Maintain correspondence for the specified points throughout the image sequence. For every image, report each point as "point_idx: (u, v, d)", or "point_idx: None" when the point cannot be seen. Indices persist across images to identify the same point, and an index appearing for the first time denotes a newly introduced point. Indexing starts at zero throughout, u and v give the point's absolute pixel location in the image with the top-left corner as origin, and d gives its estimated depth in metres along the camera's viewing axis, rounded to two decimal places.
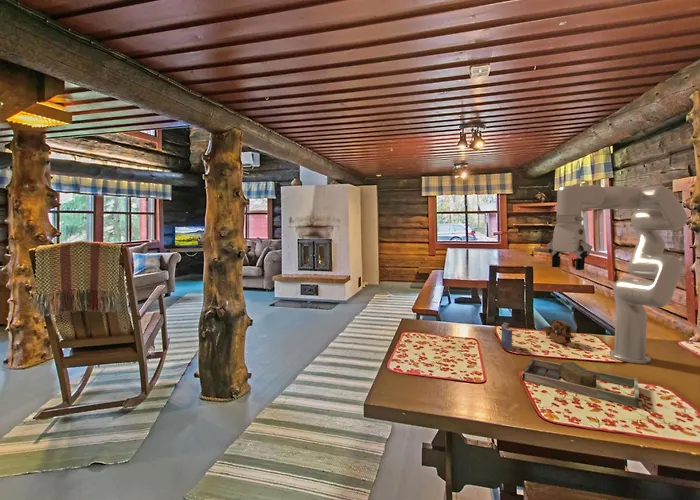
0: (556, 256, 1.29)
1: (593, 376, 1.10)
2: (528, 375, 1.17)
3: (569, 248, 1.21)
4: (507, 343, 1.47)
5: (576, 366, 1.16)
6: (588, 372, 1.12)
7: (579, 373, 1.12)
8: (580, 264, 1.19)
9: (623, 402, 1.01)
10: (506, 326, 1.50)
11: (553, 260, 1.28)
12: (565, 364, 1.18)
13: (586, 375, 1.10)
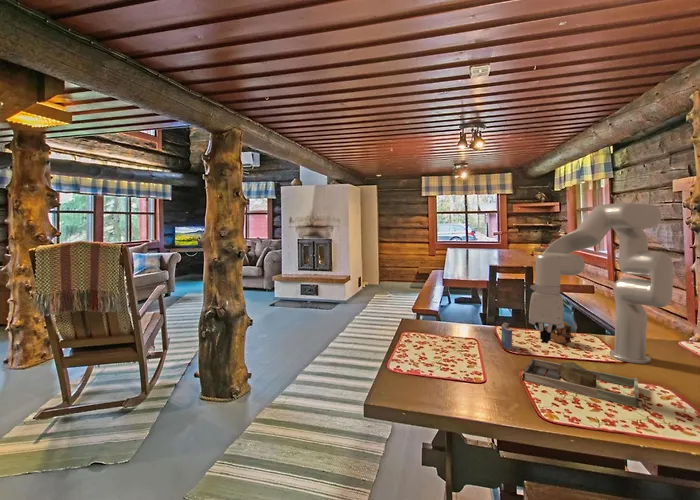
0: None
1: (593, 376, 1.10)
2: (528, 375, 1.17)
3: None
4: (507, 343, 1.47)
5: (576, 366, 1.16)
6: (588, 372, 1.12)
7: (579, 373, 1.12)
8: None
9: (623, 402, 1.01)
10: (506, 326, 1.50)
11: None
12: (565, 364, 1.18)
13: (586, 375, 1.10)
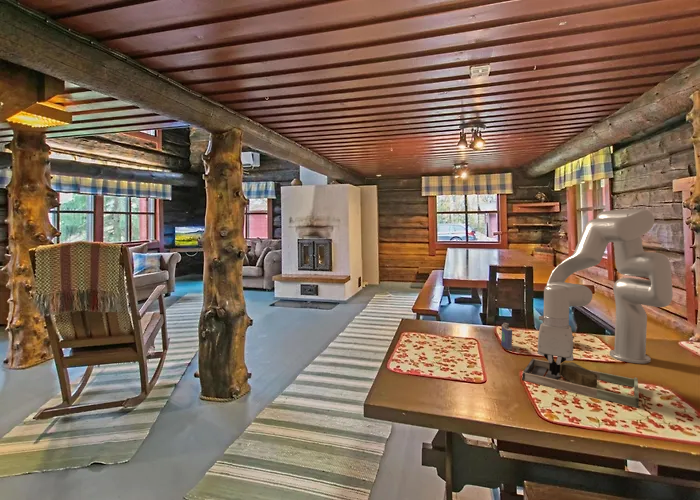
0: None
1: (594, 376, 1.10)
2: (528, 375, 1.17)
3: None
4: (507, 343, 1.47)
5: (577, 366, 1.17)
6: (589, 372, 1.12)
7: (580, 372, 1.12)
8: None
9: (623, 402, 1.01)
10: (506, 326, 1.50)
11: None
12: (566, 364, 1.19)
13: (587, 374, 1.10)
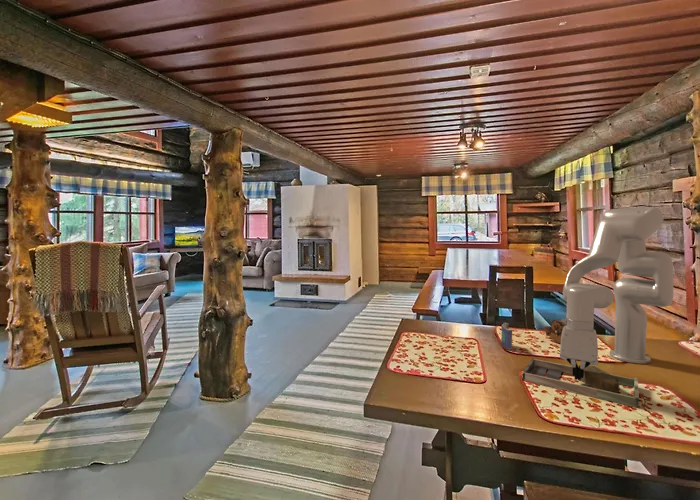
0: (579, 367, 1.15)
1: (615, 380, 1.08)
2: (528, 375, 1.17)
3: None
4: (507, 343, 1.47)
5: (597, 370, 1.14)
6: (610, 376, 1.09)
7: (600, 377, 1.09)
8: None
9: (623, 402, 1.01)
10: (506, 326, 1.50)
11: None
12: (586, 368, 1.16)
13: (608, 379, 1.08)
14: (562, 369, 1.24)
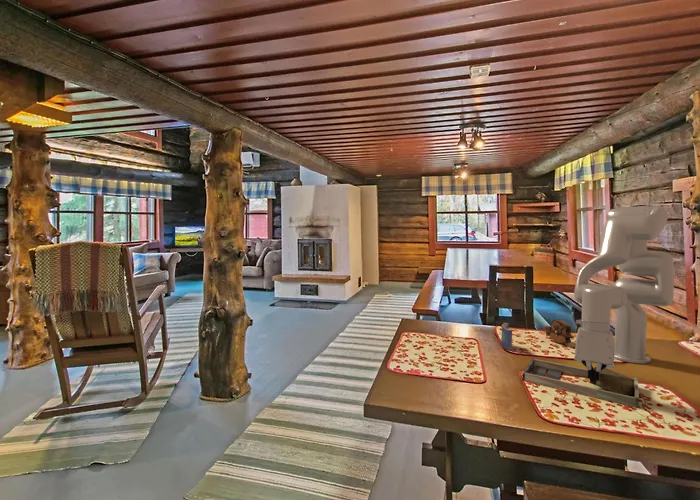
0: (594, 369, 1.12)
1: (631, 381, 1.07)
2: (528, 375, 1.17)
3: None
4: (507, 343, 1.47)
5: (609, 371, 1.12)
6: (625, 377, 1.08)
7: (617, 379, 1.07)
8: None
9: (623, 402, 1.01)
10: (506, 326, 1.50)
11: None
12: None
13: (625, 380, 1.06)
14: (562, 369, 1.24)
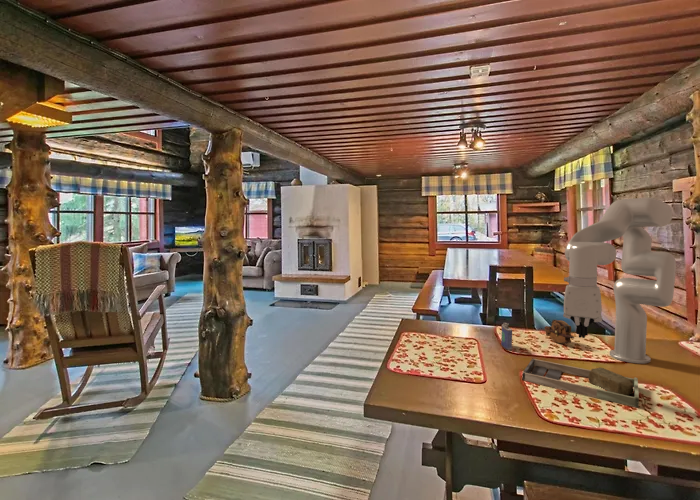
0: (583, 325, 1.14)
1: (630, 382, 1.07)
2: (528, 375, 1.17)
3: None
4: (507, 343, 1.47)
5: (608, 372, 1.12)
6: (623, 378, 1.08)
7: (616, 380, 1.07)
8: None
9: (623, 402, 1.01)
10: (506, 326, 1.50)
11: None
12: (596, 371, 1.14)
13: (624, 381, 1.06)
14: (562, 369, 1.24)
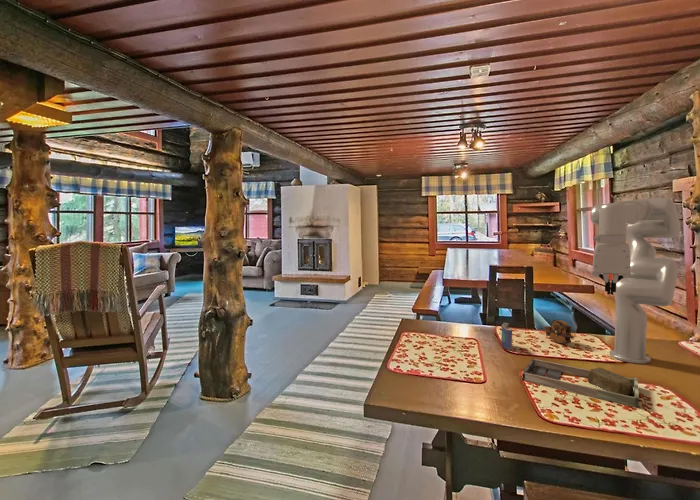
0: (611, 282, 1.18)
1: (630, 382, 1.07)
2: (528, 375, 1.17)
3: None
4: (507, 343, 1.47)
5: (607, 372, 1.12)
6: (623, 378, 1.08)
7: (616, 380, 1.07)
8: None
9: (623, 402, 1.01)
10: (506, 326, 1.50)
11: None
12: (596, 371, 1.14)
13: (624, 381, 1.06)
14: (562, 369, 1.24)
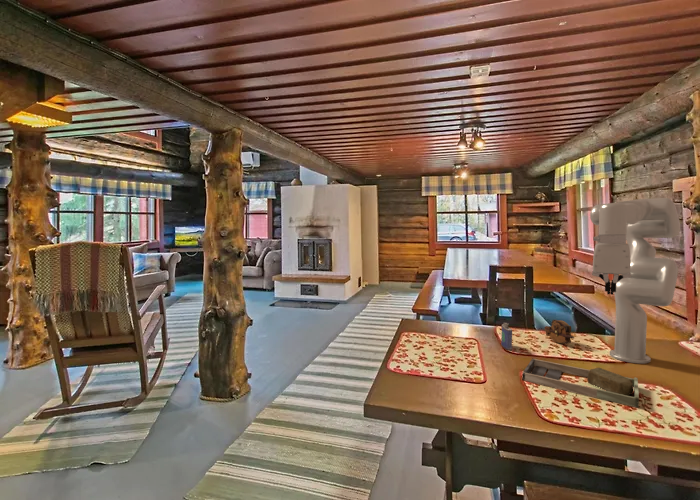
0: (611, 282, 1.18)
1: (630, 381, 1.07)
2: (528, 375, 1.17)
3: None
4: (507, 343, 1.47)
5: (607, 372, 1.12)
6: (623, 377, 1.08)
7: (616, 380, 1.07)
8: None
9: (623, 402, 1.01)
10: (506, 326, 1.50)
11: None
12: (595, 371, 1.14)
13: (624, 381, 1.06)
14: (562, 369, 1.24)
